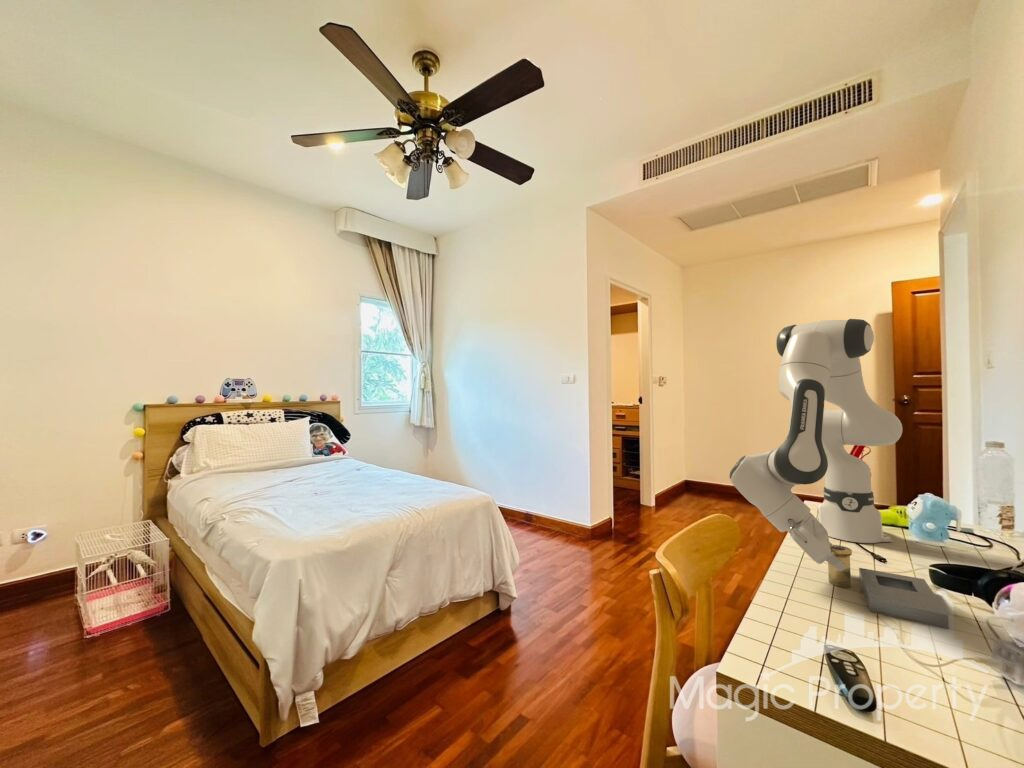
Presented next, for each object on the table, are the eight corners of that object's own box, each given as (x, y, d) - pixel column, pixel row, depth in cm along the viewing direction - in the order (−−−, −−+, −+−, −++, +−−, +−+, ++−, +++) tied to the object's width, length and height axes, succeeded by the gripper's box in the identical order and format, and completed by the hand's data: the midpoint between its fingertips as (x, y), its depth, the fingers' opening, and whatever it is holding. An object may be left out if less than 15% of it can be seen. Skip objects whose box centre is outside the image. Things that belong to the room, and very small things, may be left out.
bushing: (826, 577, 97) (824, 542, 97) (852, 582, 94) (850, 546, 95) (827, 584, 93) (825, 549, 93) (854, 590, 90) (852, 553, 91)
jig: (859, 578, 96) (859, 567, 96) (924, 590, 90) (924, 579, 90) (869, 611, 82) (869, 598, 82) (948, 628, 75) (948, 615, 75)
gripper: (800, 517, 90) (860, 573, 84) (800, 498, 107) (850, 543, 101) (776, 534, 92) (833, 589, 86) (780, 513, 109) (828, 558, 103)
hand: (842, 564), depth 94 cm, fingers closed on bushing, 4 cm apart
